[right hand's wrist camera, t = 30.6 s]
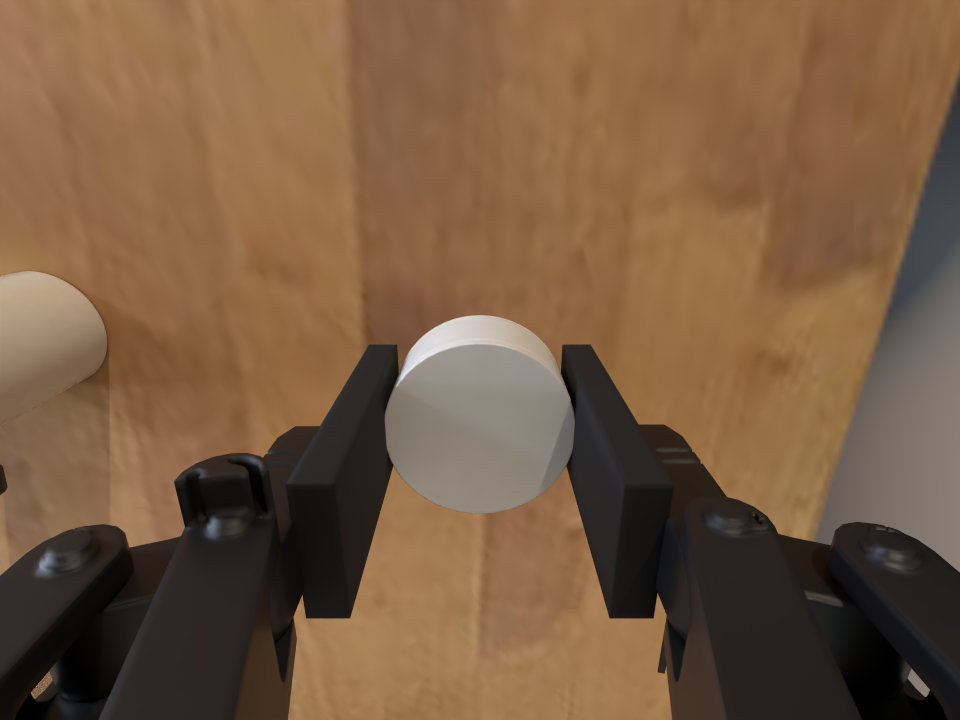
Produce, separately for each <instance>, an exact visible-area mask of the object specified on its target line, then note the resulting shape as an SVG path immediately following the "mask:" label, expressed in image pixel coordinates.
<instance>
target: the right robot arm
mask: <svg viewBox="0 0 960 720" xmlns="http://www.w3.org/2000/svg"><path fill="white" fill-rule="evenodd" d="M398 375H399V369H398V352H397V345H369V346H368V347H367V349H366V351H365V352H364V354H363V356H362V357H361V359H360V361H359V362H358V364H357V366H356V367H355V369H354V371H353V372H352V374H351V376H350V377H349V379H348V381H347V382H346V384H345V386H344V387H343V389H342V391H341V392H340V394H339V396H338V397H337V399H336V401H335V402H334V404H333V406H332V407H331V409H330V411H329V412H328V414H327V416H326V417H325V419H324V421H323V422H322V424H321V426H295V427H294V428H292V429H291V430H289V431H288V432H286V433H284V434H283V435H281V436H280V437H278V438H277V439H276V441H275V442H274V444H273V445H272V446H271V448H270V449H269V450H268V454H266V455H265V456H264V457H263V458H262V457H260V456H257V455H253V454H249V453H231V454H226V455H221V456H216V457H212V458H209V459H207V460H204V461H201V462H199V463H196V464H195V465H193V466H191V467H190V468H188V469H186V470H185V471H183V472H182V473H181V474H180V475H179V476H178V478H177V479H176V480H175V481H174V484H175V488H176V492H177V496H178V500H179V504H180V508H181V512H182V516H183V520H184V525H185V529H184V531H183V533H182V535H181V536H180V537H176V538H173V539H169V540H164V541H159V542H155V543H150V544H145V545H140V546H135V547H130V548H129V545H128V542H127V538H126V535H125V533H124V532H123V531H122V530H121V529H120V528H118V527H117V526H110V525H104V524H102V525H93V526H84V527H79V528H75V529H74V530H73V529H71V530H68V531H65V532H63V533H61V534H59V535H57V536H55V537H53V538H51V539H49V540H46V541H44V542H43V543H41V544H40V545H38V546H37V547H35V548H34V549H32V550H31V551H29V552H28V553H27V554H25V555H24V556H23V557H22V558H21V559H19V560H18V561H17V562H16V563H15V564H14V565H12V566H11V567H10V568H9V569H8V570H6V571H5V572H4V573H3V574H2V575H1V576H0V720H288V713H289V704H290V695H291V686H292V677H293V668H294V660H295V651H296V642H297V637H296V630H295V624H294V618H293V616H294V614H295V611H296V609H297V606H298V604H299V602H300V599H301V597H302V595H303V601H304V607H305V614H306V618H350V617H351V613H352V610H353V606H354V602H355V599H356V595H357V592H358V588H359V585H360V581H361V578H362V574H363V571H364V567H365V564H366V560H367V557H368V553H369V550H370V546H371V542H372V539H373V535H374V532H375V528H376V525H377V521H378V518H379V514H380V511H381V507H382V504H383V500H384V497H385V493H386V489H387V486H388V482H389V479H390V475H391V472H392V468H393V463H392V461H391V459H390V457H389V454H388V451H387V445H386V431H385V411H386V408H387V404H388V401H389V398H390V396H391V393H392V390H393V388H394V385H395V383H396V380H397V377H398ZM561 376H562V378H563V381H564V383H565V386H566V389H567V391H568V394H569V397H570V399H571V402H572V405H573V408H574V413H575V427H574V441H573V451H572V454H571V456H570V459H569V461H568V463H567V465H566V466H567V469H568V473H569V477H570V480H571V484H572V487H573V491H574V494H575V498H576V501H577V505H578V508H579V512H580V515H581V519H582V522H583V526H584V530H585V533H586V537H587V540H588V544H589V547H590V551H591V554H592V558H593V561H594V565H595V568H596V572H597V575H598V579H599V582H600V586H601V590H602V593H603V597H604V600H605V604H606V607H607V611H608V614H609V618H654V612H655V605H656V599H657V592H658V595H659V597H660V600H661V602H662V605H663V607H664V609H665V612H666V614H667V618H666V624H665V630H664V636H663V642H662V648H661V654H660V660H659V666H658V672H659V673H664V674H665V669H666V667H667V676H668V685H669V694H670V703H671V712H672V720H960V572H958V571H957V570H956V569H955V568H954V567H952V566H951V565H950V564H949V563H948V562H947V561H945V560H944V559H943V558H942V557H941V556H939V555H938V554H937V553H936V552H935V551H933V550H932V549H930V548H929V547H927V546H926V545H924V544H923V543H921V542H920V541H919V540H917V539H915V538H913V537H911V536H908V535H906V534H904V533H902V532H901V531H899V530H896V529H893V528H890V527H885V526H883V525H878V524H871V523H862V522H854V523H848V524H843V525H842V526H840V527H839V528H838V529H837V530H835V533H834V537H833V540H832V543H831V545H826V544H821V543H817V542H812V541H807V540H802V539H797V538H792V537H788V536H784V535H781V534H778V532H777V530H776V528H775V526H774V525H773V523H772V522H771V521H770V520H769V518H768V517H767V516H766V515H765V514H763V513H762V512H760V511H759V510H758V509H756V508H755V507H753V506H751V505H749V504H746V503H744V502H742V501H739V500H737V499H732V498H728V497H727V496H726V495H725V494H724V492H723V491H722V490H721V488H720V487H719V486H718V484H717V483H716V481H715V480H714V479H713V477H712V476H711V475H710V473H709V472H708V471H707V469H706V468H705V466H704V465H703V464H701V463H700V460H699V458H698V457H697V456H696V454H695V453H694V452H692V449H691V447H690V446H689V445H688V443H687V442H686V441H685V439H684V438H683V437H682V436H681V435H680V434H678V433H677V432H675V431H673V430H672V429H670V428H669V427H667V426H666V425H638V423H637V421H636V420H635V418H634V416H633V415H632V413H631V411H630V410H629V408H628V406H627V405H626V403H625V401H624V400H623V398H622V396H621V395H620V393H619V391H618V390H617V388H616V386H615V385H614V383H613V381H612V380H611V378H610V376H609V375H608V373H607V371H606V370H605V368H604V366H603V365H602V363H601V361H600V360H599V358H598V356H597V355H596V353H595V351H594V350H593V348H592V346H591V345H563V346H562V363H561ZM911 668H912V669H913V670H914V672H915V673H916V674H917V675H918V676H919V677H920V679H921V680H922V681H923V682H924V683H925V684H926V686H927V687H928V688H929V689H930V691H929V694H928V696H927V697H924V696H923V695H922V694H921V693H920V692H919V691H918V690H917V689H916V688H915V687H914V686H913V685H912V683H911V682H910V681H909V680H908V679H907V678H908V675H909V673H910V670H911ZM48 672H50V674H51V677H52V679H53V681H52V682H51V684H50V685H49V686H48V687H47V688H46V690H45V691H44V692H43V693H42V694H40V695H39V696H38V697H37V698H36V699H34V698H33V697H32V695H31V691H32V690H33V689H34V688H35V687H36V686H37V684H38V683H39V682H40V681H41V680H42V679H43V677H44V676H45V675H46V674H47V673H48Z"/></svg>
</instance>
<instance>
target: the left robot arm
mask: <svg viewBox="0 0 960 720" xmlns="http://www.w3.org/2000/svg"><path fill="white" fill-rule="evenodd" d="M6 489H7V482H6V478H5V474H4V469H3V466H2V465H0V495H1V494H2V493H3V492H5V491H6Z"/></svg>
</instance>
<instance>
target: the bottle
mask: <svg viewBox="0 0 960 720" xmlns="http://www.w3.org/2000/svg"><path fill="white" fill-rule="evenodd" d="M106 352H107V334H106V330H105V326H104V324H103V321H102V319H101V317H100V315H99V313H98V311H97V310H96V309H95V307H94V306H93V304H92V303H91V302H90V301H89V300H88V299H87V298H86V297H85V296H84V295H83V294H82V293H81V292H80V291H79V290H77V289H76V288H75V287H73V286H72V285H70V284H69V283H67V282H65V281H63V280H61V279H59V278H57V277H54V276H52V275H49V274H45V273H40V272H33V271H22V272H16V273H11V274H7V275H3V276H0V427H2V426H4V425H6V424H7V423H9V422H11V421H13V420H14V419H16V418H18V417H20V416H22V415H23V414H25V413H27V412H29V411H30V410H32V409H34V408H36V407H37V406H39V405H41V404H43V403H45V402H46V401H48V400H50V399H52V398H53V397H55V396H57V395H59V394H60V393H62V392H64V391H66V390H68V389H69V388H71V387H73V386H75V385H76V384H78V383H80V382H82V381H83V380H85V379H87V378H89V377H90V376H92V375H93V374H94V373H95V372H96V371H97V370H98V369H99V368H100V366H101V365H102V363H103V361H104V359H105V356H106Z"/></svg>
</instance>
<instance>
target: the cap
mask: <svg viewBox="0 0 960 720" xmlns="http://www.w3.org/2000/svg"><path fill="white" fill-rule="evenodd" d="M574 427H575V413H574V408H573V405H572V402H571V399H570V397H569V394H568V391H567V389H566V386H565V383H564V381H563V378H562V376H561V373H560V370H559V368H558V365H557V363H556V361H555V359H554V357H553V355H552V353H551V352H550V350H549V349H548V348H547V346H546V345H545V344H544V343H543V342H542V341H541V340H540V339H539V338H538V337H537V336H536V335H535V334H533V333H532V332H531V331H530V330H528V329H526V328H525V327H523V326H521V325H519V324H517V323H515V322H513V321H510V320H507V319H503V318H500V317H494V316H483V315H475V316H465V317H461V318H456V319H453V320H450V321H447V322H445V323H443V324H441V325H439V326H437V327H435V328H433V329H432V330H430V331H429V332H428V333H426V334H425V335H424V336H423V337H422V338H420V339H419V340H418V341H417V343H416V344H415V345H414V346H413V347H412V348H411V350H410V352H409V353H408V355H407V356H406V358H405V360H404V363H403V365H402V367H401V370H400V372H399V375H398V377H397V380H396V383H395V385H394V388H393V390H392V393H391V396H390V398H389V401H388V404H387V408H386V411H385V431H386V445H387V451H388V454H389V457H390V459H391V461H392V463H393V465H394V467H395V469H396V470H397V472H398V473H399V475H400V476H401V478H402V479H403V480H404V481H405V482H406V483H407V484H408V485H409V486H410V487H411V488H412V489H413V490H414V491H416V492H417V493H418V494H420V495H421V496H423V497H424V498H425V499H427V500H429V501H431V502H433V503H435V504H437V505H439V506H442V507H445V508H447V509H451V510H455V511H459V512H466V513H481V514H483V513H495V512H500V511H505V510H509V509H512V508H515V507H518V506H520V505H523V504H525V503H527V502H529V501H531V500H532V499H534V498H536V497H537V496H539V495H540V494H541V493H543V492H544V491H545V490H547V489H548V488H549V487H550V486H551V485H552V484H553V483H554V482H555V481H556V479H557V478H558V477H559V476H560V474H561V473H562V472H563V470H564V468H565V467H566V465H567V463H568V461H569V459H570V456H571V454H572V451H573V441H574Z"/></svg>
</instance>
